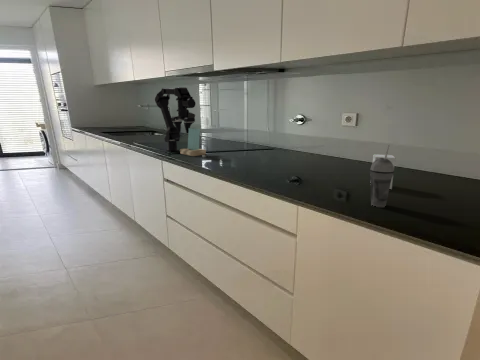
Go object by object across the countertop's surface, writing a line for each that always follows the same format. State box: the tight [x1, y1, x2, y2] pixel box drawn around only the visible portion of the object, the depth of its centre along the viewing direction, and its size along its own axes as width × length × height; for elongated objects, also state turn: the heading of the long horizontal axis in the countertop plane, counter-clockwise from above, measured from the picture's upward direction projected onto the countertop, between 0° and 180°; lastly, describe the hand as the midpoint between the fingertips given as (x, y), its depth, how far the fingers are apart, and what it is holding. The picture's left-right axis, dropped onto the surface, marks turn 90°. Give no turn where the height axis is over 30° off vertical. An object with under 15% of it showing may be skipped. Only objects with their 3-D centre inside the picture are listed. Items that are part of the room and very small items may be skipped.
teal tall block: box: [187, 127, 201, 150], centre depth 209 cm, size 5×5×13 cm
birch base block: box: [179, 147, 207, 157], centre depth 212 cm, size 14×10×3 cm
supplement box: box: [372, 153, 396, 190], centre depth 130 cm, size 7×7×13 cm
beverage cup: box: [369, 144, 395, 208], centre depth 106 cm, size 7×7×20 cm
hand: (183, 132), depth 212 cm, fingers open, 9 cm apart
